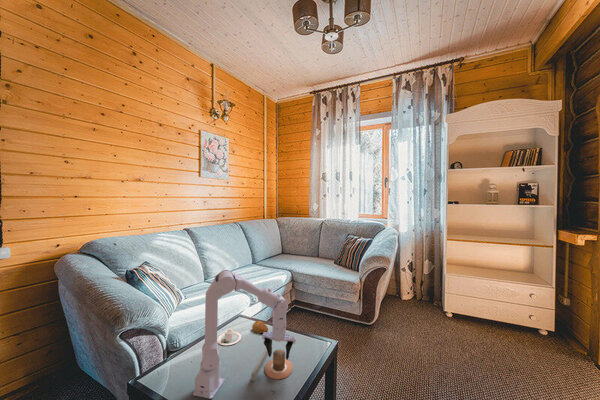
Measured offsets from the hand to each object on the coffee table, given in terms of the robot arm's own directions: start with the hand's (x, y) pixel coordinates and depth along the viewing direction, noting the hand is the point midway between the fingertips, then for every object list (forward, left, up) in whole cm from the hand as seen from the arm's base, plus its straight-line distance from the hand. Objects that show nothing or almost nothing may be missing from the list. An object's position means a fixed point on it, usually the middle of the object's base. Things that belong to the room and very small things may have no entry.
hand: (278, 356), depth 105 cm
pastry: (+27, +19, -6) cm, 33 cm away
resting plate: (0, 0, -5) cm, 5 cm away
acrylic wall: (0, +8, -5) cm, 9 cm away
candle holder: (+15, +31, -6) cm, 35 cm away
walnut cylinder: (0, 0, -5) cm, 5 cm away
